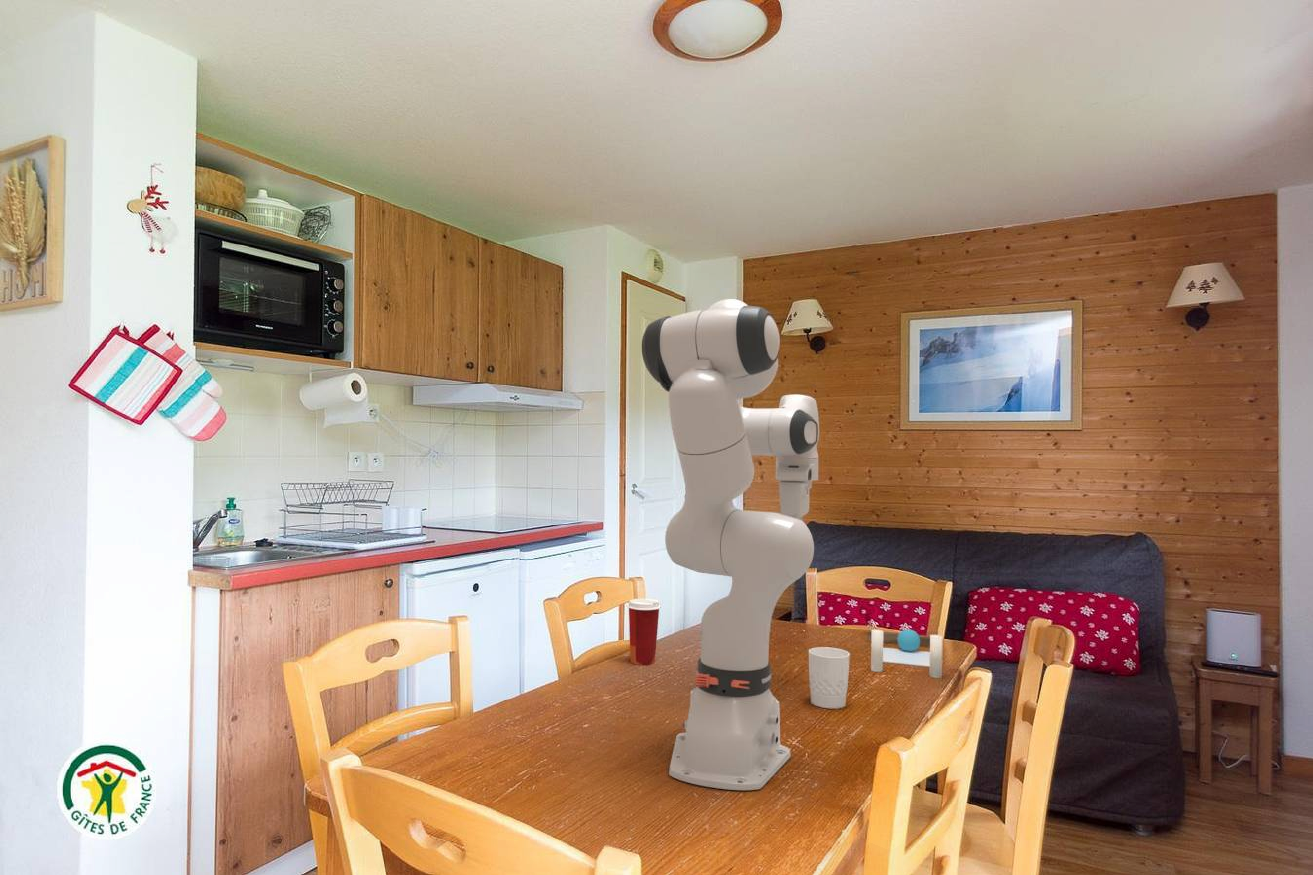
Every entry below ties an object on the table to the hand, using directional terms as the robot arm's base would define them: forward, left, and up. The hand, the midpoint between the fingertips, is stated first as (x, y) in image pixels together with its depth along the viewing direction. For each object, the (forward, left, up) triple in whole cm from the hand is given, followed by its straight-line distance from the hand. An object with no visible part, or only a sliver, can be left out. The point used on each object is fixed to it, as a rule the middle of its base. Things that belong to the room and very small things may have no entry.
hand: (795, 537), depth 158 cm
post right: (+20, -29, -31) cm, 47 cm away
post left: (+20, -17, -31) cm, 41 cm away
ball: (+41, -24, -28) cm, 55 cm away
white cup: (-8, -8, -31) cm, 33 cm away
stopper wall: (+49, -23, -31) cm, 62 cm away
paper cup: (+6, +35, -31) cm, 47 cm away
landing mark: (+35, -23, -31) cm, 52 cm away
